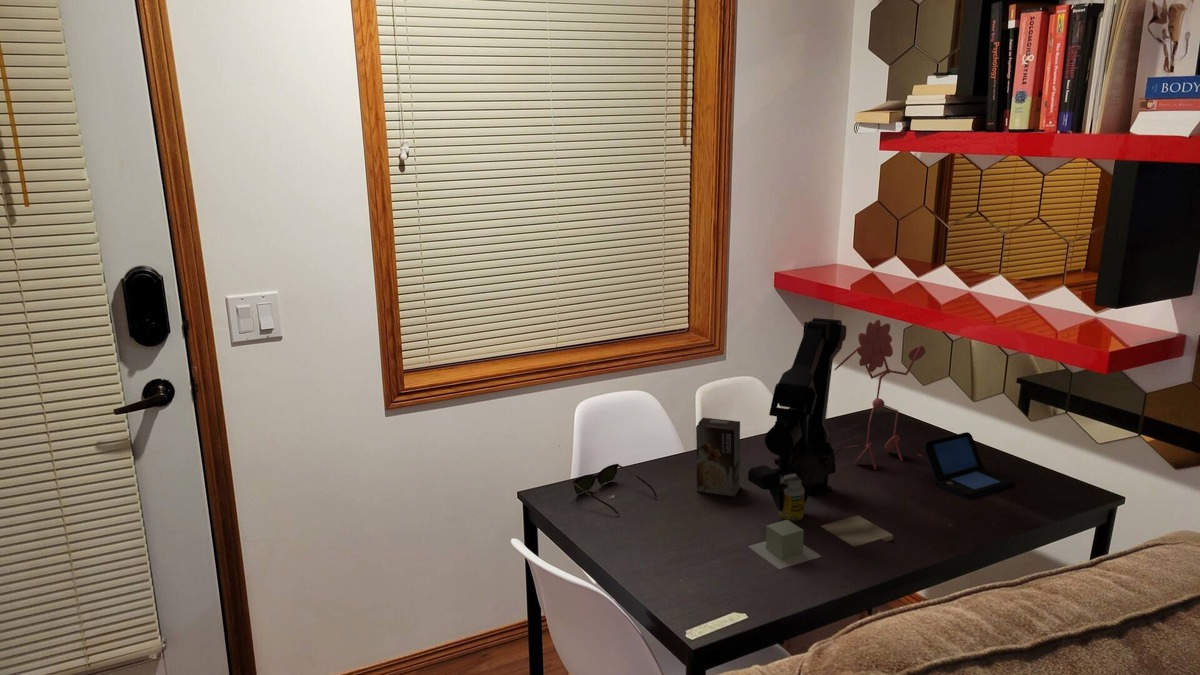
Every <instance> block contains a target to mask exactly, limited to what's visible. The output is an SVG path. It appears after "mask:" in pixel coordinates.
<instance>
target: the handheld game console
mask: <svg viewBox="0 0 1200 675" xmlns="http://www.w3.org/2000/svg"><path fill="white" fill-rule="evenodd" d="M974 440H975V439H974V437H973V436H972V434H971V433H970V432H962V433H958V434H954V435H949V436H946V437H941V438H937V439H934V440H930V441H929V440H928V441H926V442H925V443H924V449H925V452H926V456H927V458H928V462H929V463H930V464H929V465H930V467H931V470H932V472H933V475H934V478H935V479H934V481H935V482H934V484H935V486H937V487H941V489H942V488H943V489H945V490H947V491H949V492H951V493H953V494H956V495H957V496H960V497H963V498H964V499H965V498H966V499H972V498H975V497H979V496H982V495H986V494H989V493H992V492H995V491H998V490H1002V489H1005V488H1009V487H1011V486H1013V480H1012V479H1011V478H1008V477H1006V476H1003V475H1001V474H999V473H996V472H994V471H991V470H989V469H986V468H985V465H984V464H983V462H982V459H981V456H980V455H979V453H978V448H977V446H976V443H975V441H974Z"/></svg>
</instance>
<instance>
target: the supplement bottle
mask: <svg viewBox="0 0 1200 675" xmlns="http://www.w3.org/2000/svg"><path fill="white" fill-rule="evenodd" d="M783 483H784V484H785V485H787V486H788V487H787V488H786V489H785V490H784V501H783V511H781V512H780V511H779V510H778V509H777V510H778V511H777V512H778V513H777V516H778V517H779V518H781V519H783V520H789V521H800V520H802V519H803V518H804V515H805V505H804V496H805V490H804V487H803V486H802V485H801V483H802V480H801V479H800V478H799V477H798V476H797V475H796V474H794V475H789V476H785V477H784V481H783Z"/></svg>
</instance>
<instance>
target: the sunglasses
mask: <svg viewBox="0 0 1200 675" xmlns="http://www.w3.org/2000/svg"><path fill="white" fill-rule="evenodd" d="M618 468H620V469H622V470H624V471H627V472H628V473H630V474H631V475H633V476H634V477H636V478H637V479H638V480H639V481H641V482H642V483H643V484H645V485H646V486H648V488H650V489H651V491H652V492H653V494H654V497H655V498H656V497H657V498H658V496H657V493H656V491H655V489H654V488H653V486H651V485H650V484H649V483H648V482H647V481H645V480H644V479H642V478H641V477H640V476H638V475H636V474H635V473H634V472H632V471H630V470H629V469H627V468H625V467H624V466H622V465H620V464H619V463H614V464H611V465H610V464H609V465H607V466H606V467H604V468H603V469H601V470H600V471H599V472H598V474H596V475H593V474H585V475H582V476H580V477H577V478H576V479H574V480H573V481H572V485H573V488H574V491H575V495H577V494H579V493H582V492H585V493H584V494H587V495H588V496H590V497H591V498H592V499H593V498H594V500H597V501H598V502H599V503H602V504H604V505H606V506H607V507H609V508H610V509H612V510H613V511H614V513H617V514H619V512H618V511H617V510H616V509H615V508H614V507H613V506H612V505H611V504H608V503H606V502H605V501H604V500H601V499H600V498H599V497H596V496H595V495H593V494H591V493H590V492H586V490H589V489H590V490H591V489H592V487H593V486H594V484H595V483H596V479H597V481H598V483H599V484H600V485H601V484H603V483H605V482H608V481H611V480H613V479H614V480H615V478H616V475H617V474H618ZM617 514H616V515H617Z"/></svg>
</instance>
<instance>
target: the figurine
mask: <svg viewBox="0 0 1200 675" xmlns="http://www.w3.org/2000/svg"><path fill="white" fill-rule="evenodd" d="M890 330H891V324H890V323H884V324H882V325H881V320H880V319H877V320H875V321H874V322H870V321H869V322H868V323H867V325H866V329H865V332H864V333H863V332H860V333H858V336H857V337H858V338H857V339H858V343H859V345H860V346H858V347H856V349H854V351H852V352H851V353H850V354H849V355H848V356H846V357H845V359H844V360H842V362H840V363H839V364H838V365H837V366H836V367H835V368H834V369H833V370H834V371H837V369H839V368H840V367H841V366H842V365H843V364H844V363H846V361H848V360H849V359H850V358H851V357H852V356H853V355H855V354H856V353H857V354H858V355H859V356H860V359H859V361H858V363H859V366H860V367H863V366H864V367H865V369H866V370H867V373H868V375H869V377H870V379H871V380H873V379H876V378H877V377H879V378H878V386H877V393H876V398H875V399H874V400H873V401H872V408H871V409H872V410H871V413H870V416H869V420H868V427H867V437H866V445H865V448H864V449H863V451H862V452H861V453H860V455H859V457H858V458H857V459H856V460H855V461H854V464H856V463H858V461H859V460H860V459H861V457H863V455H864V454H865V453H866V452H867V450H868V453H869V456H870V459H871V462H872V465H873V466H872V467H873V469H874V470H877V469H878V468H877V465H876V462H875V459H874V455H873V454H872V450H871V444H872V442H870V443H869V438H870V431H871V430H870V429H871V421H872V417H873V413H874V410H882V409H883V408H884V407H885V408H888V409H890V410H893V411H896V415H895V423H894V429H893V436H891V438H890V439H889V440H888V441H887V442H886V443H885V445H884V449H885V451H886V452H888V453H889V452H891V451H892V450H893V449H894V448H896V451H897V454H898V457H899V459H900V462H903V461H904V459H903V457H902V454H901V451H900V447H899V443H900V440H901V438H900V435H896V432H897V431H896V430H897V424H898V417H899V410H898V409H896V408H892V406H888V405H886V404H885V401H884V400H883V399H882V398H879V395H880V390H881V384H882V378H884V377H885V376H886V375H887V374H891V373H892V374H897V375H902V376H903V375H904V376H908V374H909V372H910V370H911V369H912V367H913V365H914V363H915V362H916V361H917V360H920V359H921V358H922V357H923V356H924V355H925V354H926V348H925V346H923V345H922V344H919V345H917V346H915V347H913V348H912V349H911V350H910V351H909V352H908V359H909V360H910V361H911V362H910V364H909V366H908V367H907V368H908V369H907V370H906V371H905V372H902V371H896V370H892V369H890V368H889V365H888V362H887V358H886V357H888V358H890V357H892V356H893V353H894V351H893V346H892V345H891V343H892V341H893V338H892V336H891V335H890ZM884 365H885V366H884ZM883 366H884V368H885V370H883V371H881V372H879V373H876V374H874V375H873V374H872V373H873V372H875V370H876V369H878V368H882V367H883ZM847 447H848V446H846V447H845V449H847ZM852 447H853V448H854V445H851V446H849V448H852ZM855 447H860V446H859V444H857V445H856V444H855ZM917 455H918V456H920V457H922V455H921V454H919V453H917Z"/></svg>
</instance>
